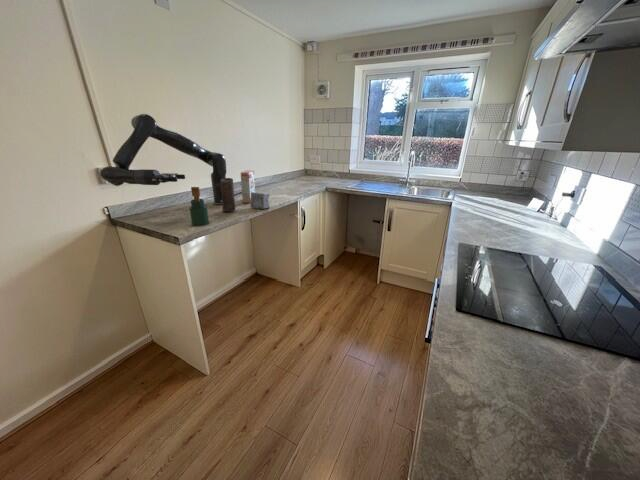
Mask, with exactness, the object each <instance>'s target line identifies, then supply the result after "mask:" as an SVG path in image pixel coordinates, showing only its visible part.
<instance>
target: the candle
mask: <svg viewBox="0 0 640 480" xmlns="http://www.w3.org/2000/svg"><path fill="white" fill-rule="evenodd" d="M220 181H221V193H222V212H226V213H231V212H234V211H236V201H235V195H234V194H235V187H234V179H233V178H231V177H226V178H224V179H221V180H220Z"/></svg>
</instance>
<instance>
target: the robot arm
mask: <svg viewBox="0 0 640 480" xmlns="http://www.w3.org/2000/svg"><path fill="white" fill-rule="evenodd" d="M130 122H131V126H132V128H133V131H132V133H131V134H130V135H129V137H128V138H127V139H126V140H125V141H124V142H123V143H122V145H121V146H120V147H119V149H118V150H117V151H116V153H115V155H114V157H112V158H113V159H112V163H113V164H114V166H105V167H103V168H101V169H100V170H99V176H100V178H101V179H102V180H104V181H106V182H107V183H109V184H110V185H112V186H116V187H119V186H122V185H123V184H129V185H141V186H159V185H160V184H161V183H162V184H165V183H177V182H178V180H186V175H185V174H181V173H179V174H178V173H176V172H175V173H174V172H173V173H172V172H171V173H170V172H162V173H160V172H159V170H157V169H147V168H145V169H144V168H143V169H141V168H140V169H130V167H131V165H132V163H133V162H134V160H135V159H136V157H137V154H138V153H139V152H140V150H141V148H142V147H143V146H144V144H145V142H147V140H148V139H149V138H151V139H155V140H157V141H159V142H161V143H163V144H165V145H167V146H168V147H171V148H172V149H175V150H176V151H179V152H181V153H183V154H186V155H187V156H190V157H193V158H196V159H198V160H200V161H202V162H204V163H205V164H207V165H209V166H210V167H212V172H211V173H210V180H211V188H212V195H213V204H214V205H219V206H221V205H222V193H221V181H220V180H221V179H224V178H227V177H226V176H227V160H226V157H225V156H224V154H222V153H221V152H214V151H211V150H208V149H206V148H204V147H202V146H201V145H200V144H198V143H197V142H196V141H195V140H193V139H192V138H190V137H188V136H186V135H184V134H183V133H179V132H177V131H173V130H170V129H167V128H164V127H163V126H160V125H158V123H157V121H156V119H155V118H154V117H153V116H152V115H151V114H147V113H141V114H140V113H139V114H137V115H135V116H133V117H132V118H131V121H130ZM239 194H242V191H240V192H236V193H234V196H236V195H239Z"/></svg>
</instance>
